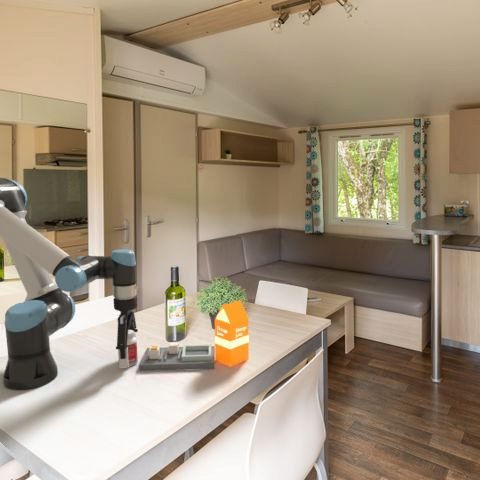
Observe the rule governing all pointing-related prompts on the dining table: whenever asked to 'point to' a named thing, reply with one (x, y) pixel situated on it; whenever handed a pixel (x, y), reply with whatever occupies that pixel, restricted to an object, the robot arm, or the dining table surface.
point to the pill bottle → (131, 348)
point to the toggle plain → (173, 348)
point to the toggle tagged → (154, 352)
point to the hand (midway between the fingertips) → (128, 358)
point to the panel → (181, 359)
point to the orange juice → (232, 334)
